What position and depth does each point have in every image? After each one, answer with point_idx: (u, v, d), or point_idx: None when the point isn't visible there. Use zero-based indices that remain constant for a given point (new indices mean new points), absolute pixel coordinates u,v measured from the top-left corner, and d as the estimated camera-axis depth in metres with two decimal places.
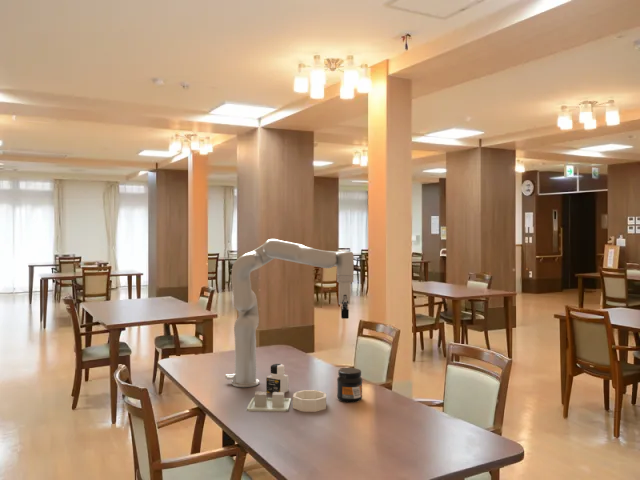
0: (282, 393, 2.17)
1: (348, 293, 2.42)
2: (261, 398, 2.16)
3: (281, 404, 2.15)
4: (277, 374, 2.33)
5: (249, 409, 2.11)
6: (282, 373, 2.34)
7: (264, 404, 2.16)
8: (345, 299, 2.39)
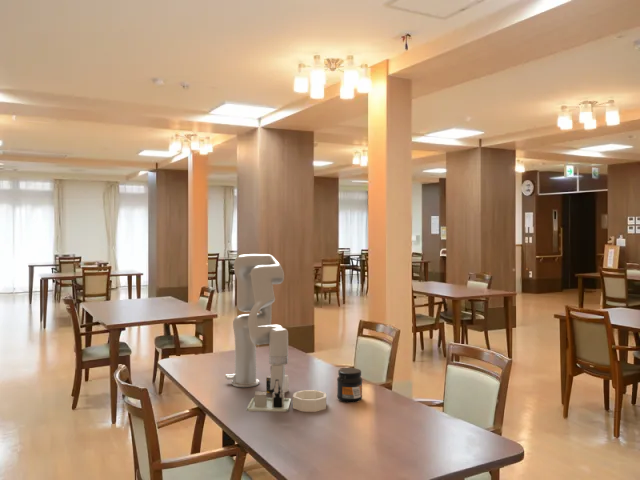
0: (282, 393, 2.17)
1: (280, 377, 2.12)
2: (261, 398, 2.16)
3: None
4: None
5: (249, 409, 2.11)
6: None
7: (264, 404, 2.16)
8: (277, 390, 2.11)
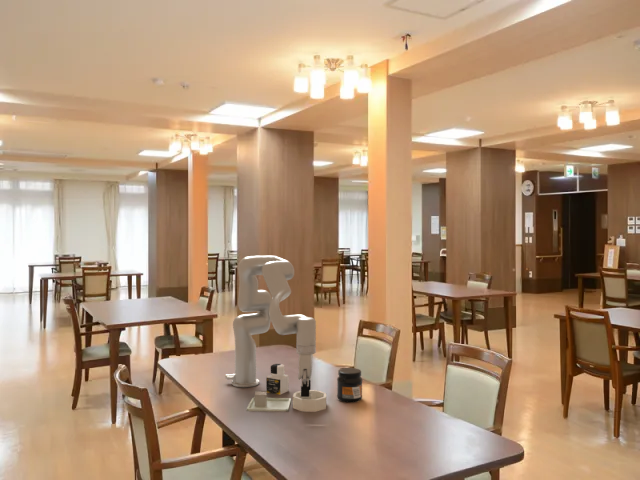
0: (309, 394, 2.15)
1: (309, 367, 2.10)
2: (261, 398, 2.16)
3: None
4: (277, 374, 2.33)
5: (249, 409, 2.11)
6: (282, 373, 2.34)
7: (264, 404, 2.16)
8: (305, 376, 2.07)
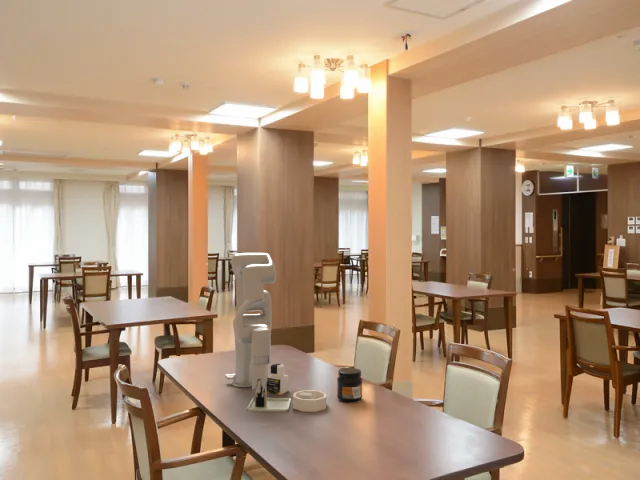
0: (309, 394, 2.15)
1: (263, 377, 2.12)
2: None
3: None
4: (277, 374, 2.33)
5: (249, 409, 2.11)
6: (282, 373, 2.34)
7: (264, 404, 2.16)
8: (258, 389, 2.11)
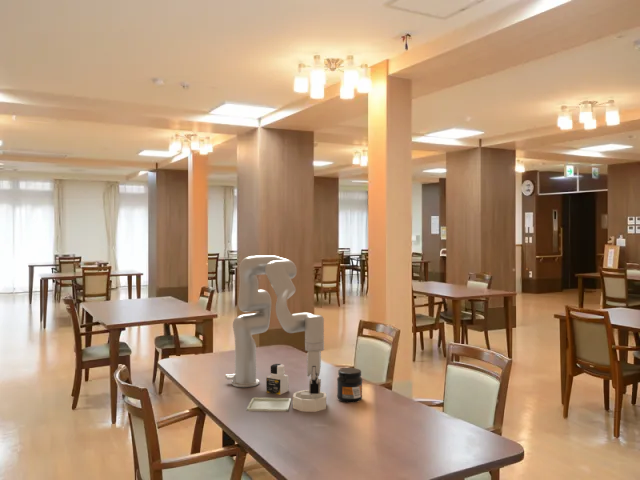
0: (310, 393, 2.15)
1: (317, 364, 2.13)
2: None
3: None
4: (277, 374, 2.33)
5: (249, 409, 2.11)
6: (282, 373, 2.34)
7: None
8: (314, 376, 2.12)
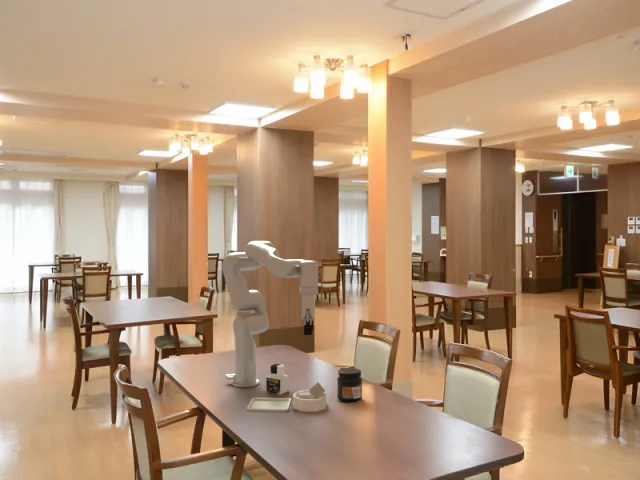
0: (308, 393, 2.15)
1: (311, 307, 2.18)
2: (319, 389, 2.16)
3: None
4: (277, 374, 2.33)
5: (249, 409, 2.11)
6: (282, 373, 2.34)
7: (316, 396, 2.15)
8: (308, 314, 2.15)
